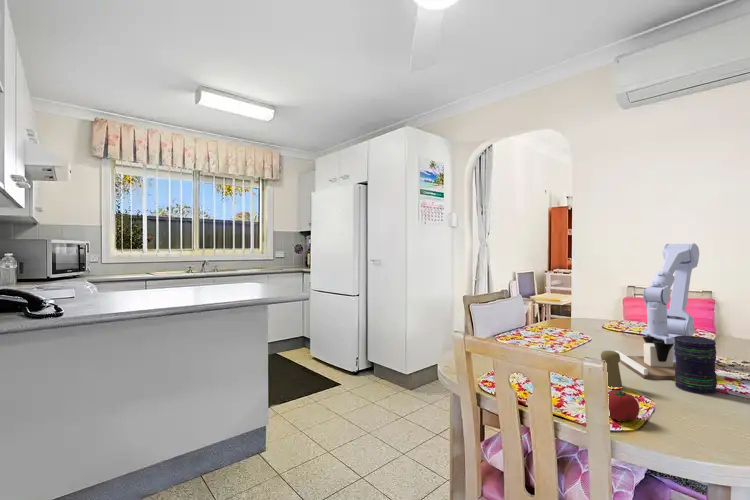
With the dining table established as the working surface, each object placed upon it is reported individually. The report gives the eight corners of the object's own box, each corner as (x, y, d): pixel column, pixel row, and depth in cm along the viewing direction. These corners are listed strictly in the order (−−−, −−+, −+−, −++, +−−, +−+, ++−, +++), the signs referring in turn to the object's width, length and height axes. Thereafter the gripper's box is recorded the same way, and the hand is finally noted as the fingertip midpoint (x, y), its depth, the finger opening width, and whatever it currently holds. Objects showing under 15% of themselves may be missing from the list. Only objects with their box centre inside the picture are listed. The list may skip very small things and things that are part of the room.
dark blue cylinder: (720, 397, 109) (719, 345, 109) (677, 391, 114) (676, 341, 114) (713, 385, 117) (712, 337, 117) (672, 380, 122) (671, 334, 122)
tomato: (645, 421, 96) (645, 393, 95) (623, 428, 93) (622, 398, 93) (616, 409, 103) (615, 383, 103) (594, 414, 100) (593, 387, 100)
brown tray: (661, 359, 143) (661, 351, 143) (699, 380, 122) (699, 370, 122) (614, 358, 146) (614, 350, 146) (644, 378, 125) (643, 369, 125)
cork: (619, 383, 121) (618, 349, 121) (625, 390, 115) (624, 354, 115) (598, 382, 123) (597, 348, 123) (602, 388, 117) (601, 353, 117)
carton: (673, 366, 132) (672, 346, 132) (650, 366, 133) (650, 346, 133) (665, 362, 136) (665, 343, 136) (643, 362, 138) (643, 342, 138)
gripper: (634, 316, 142) (635, 353, 143) (655, 325, 128) (656, 365, 128) (655, 317, 141) (656, 353, 141) (679, 325, 127) (680, 365, 127)
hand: (658, 359), depth 135 cm, fingers closed on carton, 5 cm apart
